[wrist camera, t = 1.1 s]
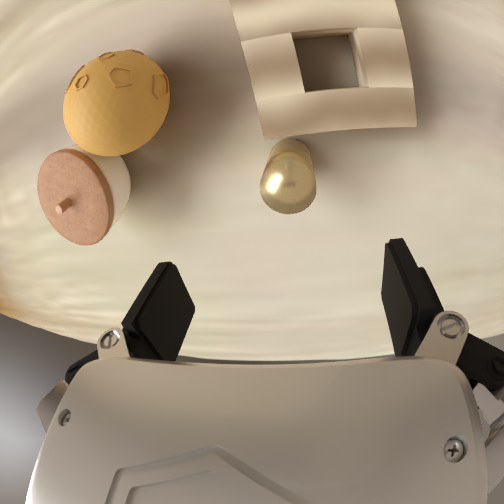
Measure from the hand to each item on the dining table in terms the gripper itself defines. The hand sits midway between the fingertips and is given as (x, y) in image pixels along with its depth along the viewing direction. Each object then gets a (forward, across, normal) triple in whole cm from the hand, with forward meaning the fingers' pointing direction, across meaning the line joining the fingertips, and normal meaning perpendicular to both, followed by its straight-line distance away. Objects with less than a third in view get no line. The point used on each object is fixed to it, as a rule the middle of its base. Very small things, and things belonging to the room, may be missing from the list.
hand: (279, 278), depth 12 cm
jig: (+17, -5, -13) cm, 22 cm away
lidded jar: (+18, +21, -4) cm, 28 cm away
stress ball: (+18, +13, -10) cm, 24 cm away
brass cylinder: (+17, 0, 0) cm, 17 cm away
